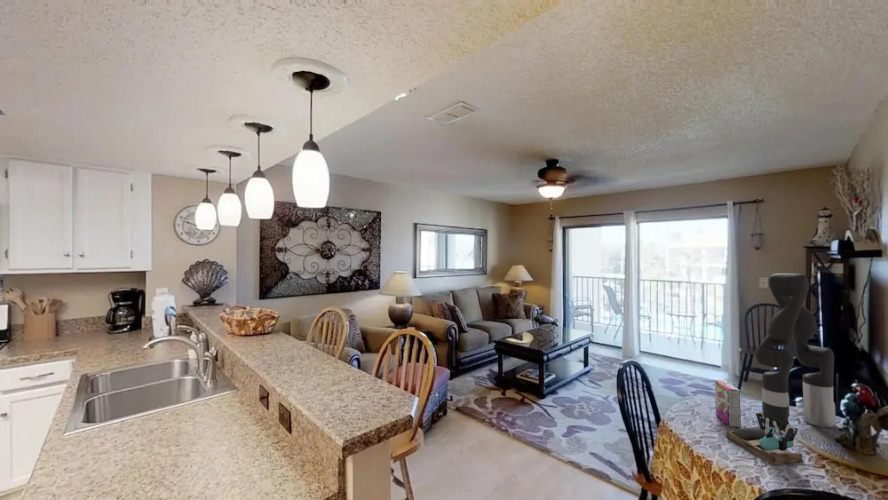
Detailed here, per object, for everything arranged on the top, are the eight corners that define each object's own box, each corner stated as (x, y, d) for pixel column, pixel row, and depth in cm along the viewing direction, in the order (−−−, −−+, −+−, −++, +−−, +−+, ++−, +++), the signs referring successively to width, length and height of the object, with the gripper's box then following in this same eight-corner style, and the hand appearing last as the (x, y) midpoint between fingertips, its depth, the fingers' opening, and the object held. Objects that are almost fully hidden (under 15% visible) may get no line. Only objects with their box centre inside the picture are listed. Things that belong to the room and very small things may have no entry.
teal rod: (770, 452, 136) (769, 442, 135) (759, 446, 140) (759, 436, 139) (793, 449, 137) (793, 439, 137) (782, 443, 141) (782, 433, 141)
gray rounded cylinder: (757, 436, 151) (754, 425, 152) (767, 438, 147) (763, 427, 148) (735, 438, 149) (732, 428, 150) (744, 441, 146) (741, 429, 147)
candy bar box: (715, 415, 171) (714, 379, 170) (727, 415, 170) (726, 380, 169) (728, 427, 160) (727, 389, 159) (741, 427, 159) (740, 389, 158)
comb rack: (752, 434, 153) (752, 428, 153) (802, 460, 134) (802, 453, 134) (726, 437, 152) (726, 431, 152) (773, 464, 133) (773, 457, 133)
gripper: (748, 394, 144) (749, 438, 145) (786, 410, 130) (787, 459, 131) (765, 392, 145) (766, 436, 146) (804, 408, 131) (805, 456, 132)
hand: (776, 446), depth 138 cm, fingers closed on teal rod, 3 cm apart
